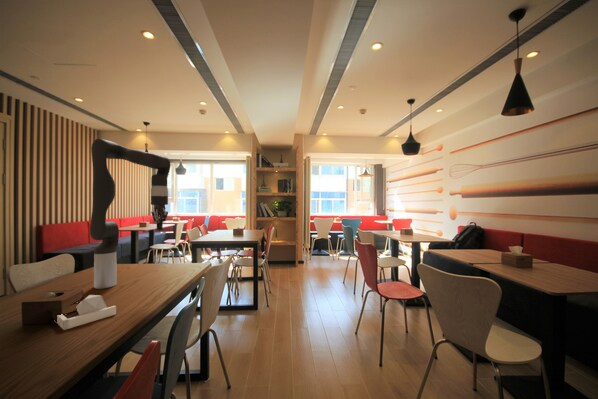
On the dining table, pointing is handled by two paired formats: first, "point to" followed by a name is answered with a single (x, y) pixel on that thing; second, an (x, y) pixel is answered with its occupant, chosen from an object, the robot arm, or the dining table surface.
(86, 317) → the corral
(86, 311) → the die
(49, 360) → the dining table surface
